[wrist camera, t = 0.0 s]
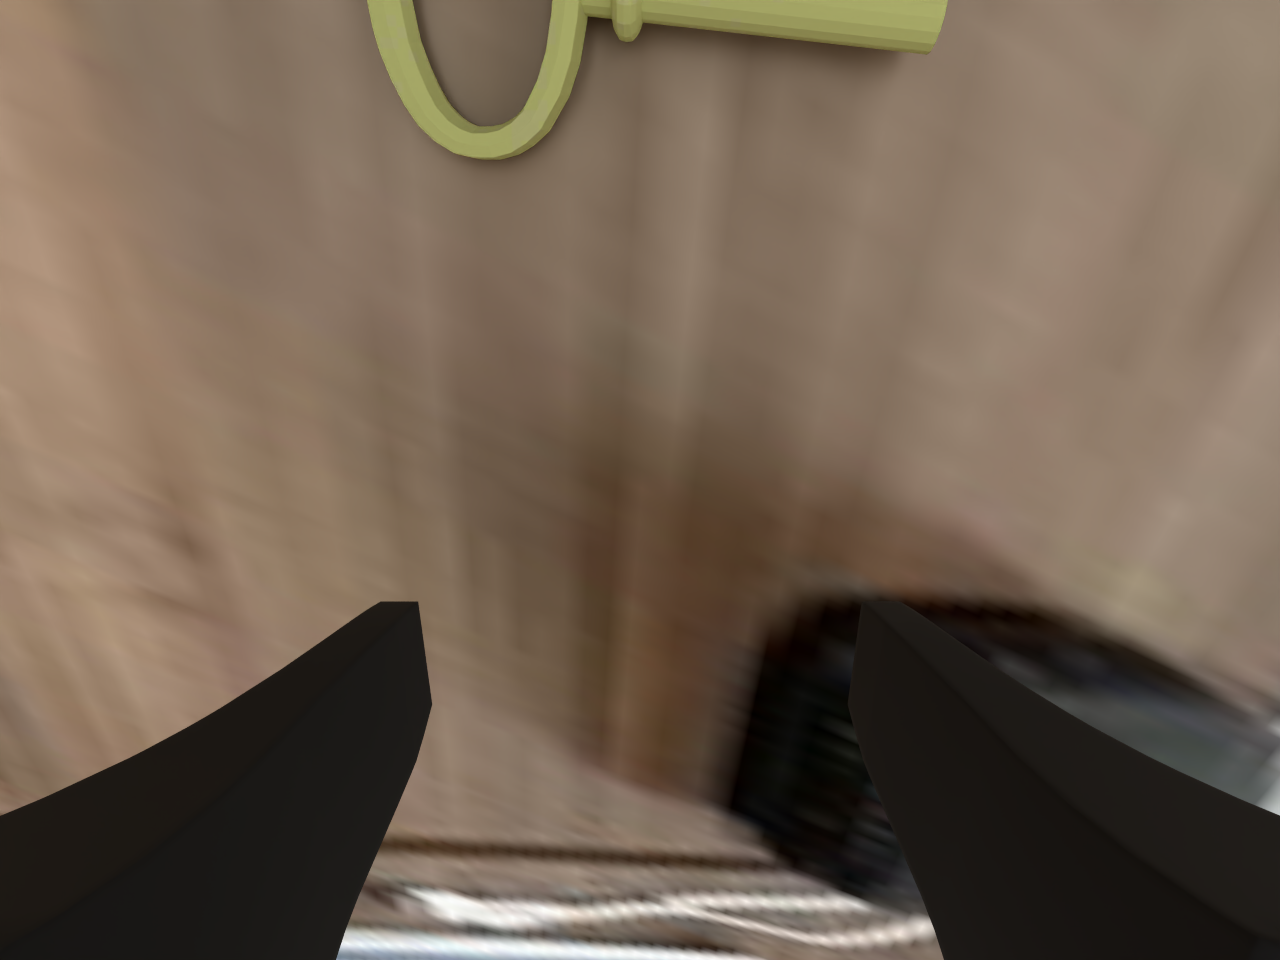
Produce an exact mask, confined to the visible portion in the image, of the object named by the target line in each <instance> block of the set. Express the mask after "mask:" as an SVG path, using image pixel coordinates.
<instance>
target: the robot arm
mask: <svg viewBox="0 0 1280 960" xmlns="http://www.w3.org/2000/svg"><path fill="white" fill-rule="evenodd" d="M431 707H432V700H431V693H430V685H429V678H428V671H427V663H426V656H425V649H424V641H423V634H422V627H421V620H420V612H419V605H418V602H379V603H378V604H376V605H374V606H372V607H371V608H369V609H368V610H366V611H365V612H363V613H362V614H360V615H359V616H357V617H356V618H354V619H353V620H351V621H350V622H349V623H347V624H346V625H344V626H343V627H341V628H340V629H339V630H337V631H336V632H334V633H333V634H331V635H330V636H329V637H327V638H326V639H324V640H323V641H321V642H320V643H319V644H317V645H316V646H314V647H313V648H311V649H310V650H309V651H307V652H306V653H304V654H303V655H301V656H300V657H298V658H297V659H296V660H294V661H293V662H291V663H290V664H288V665H287V666H285V667H284V668H282V669H281V670H279V671H278V672H276V673H275V674H273V675H272V676H270V677H269V678H267V679H265V680H264V681H262V682H261V683H259V684H258V685H256V686H254V687H253V688H251V689H250V690H248V691H247V692H245V693H243V694H242V695H240V696H239V697H237V698H236V699H234V700H232V701H231V702H229V703H228V704H226V705H225V706H223V707H221V708H220V709H218V710H216V711H215V712H213V713H211V714H210V715H208V716H206V717H205V718H203V719H201V720H199V721H198V722H196V723H194V724H192V725H191V726H189V727H187V728H185V729H183V730H182V731H180V732H178V733H176V734H174V735H172V736H170V737H168V738H167V739H165V740H163V741H161V742H159V743H157V744H155V745H154V746H152V747H150V748H148V749H146V750H144V751H142V752H140V753H138V754H136V755H134V756H132V757H130V758H128V759H126V760H124V761H122V762H120V763H118V764H115V765H113V766H111V767H109V768H107V769H105V770H103V771H100V772H98V773H96V774H94V775H92V776H90V777H88V778H85V779H83V780H81V781H79V782H77V783H75V784H73V785H70V786H68V787H66V788H64V789H62V790H60V791H58V792H55V793H53V794H51V795H49V796H47V797H44V798H42V799H40V800H37V801H35V802H33V803H30V804H28V805H26V806H23V807H21V808H18V809H16V810H14V811H11V812H9V813H6V814H4V815H1V816H0V960H336V958H337V955H338V952H339V948H340V945H341V942H342V939H343V936H344V933H345V930H346V927H347V925H348V922H349V919H350V917H351V914H352V912H353V909H354V906H355V904H356V901H357V899H358V896H359V894H360V891H361V889H362V887H363V884H364V882H365V880H366V878H367V875H368V873H369V871H370V868H371V866H372V864H373V861H374V859H375V857H376V854H377V852H378V850H379V847H380V845H381V843H382V841H383V838H384V836H385V834H386V831H387V829H388V827H389V824H390V822H391V820H392V817H393V815H394V813H395V811H396V808H397V806H398V804H399V801H400V799H401V796H402V794H403V792H404V789H405V787H406V785H407V782H408V780H409V778H410V775H411V773H412V770H413V768H414V765H415V763H416V760H417V757H418V753H419V750H420V747H421V743H422V740H423V736H424V733H425V729H426V725H427V722H428V718H429V714H430V710H431ZM848 707H849V710H850V714H851V718H852V722H853V725H854V729H855V733H856V736H857V740H858V743H859V747H860V750H861V753H862V757H863V760H864V763H865V765H866V768H867V770H868V773H869V775H870V778H871V780H872V782H873V785H874V787H875V789H876V792H877V794H878V796H879V799H880V801H881V804H882V806H883V808H884V811H885V813H886V815H887V817H888V820H889V822H890V824H891V827H892V829H893V831H894V834H895V836H896V838H897V841H898V843H899V845H900V847H901V850H902V852H903V854H904V857H905V859H906V861H907V864H908V866H909V868H910V871H911V873H912V875H913V878H914V880H915V882H916V884H917V887H918V889H919V891H920V894H921V896H922V899H923V901H924V904H925V906H926V909H927V912H928V914H929V917H930V919H931V922H932V925H933V927H934V930H935V933H936V936H937V939H938V942H939V945H940V948H941V952H942V955H943V958H944V960H1280V816H1279V815H1277V814H1275V813H1272V812H1270V811H1267V810H1265V809H1262V808H1260V807H1258V806H1255V805H1253V804H1250V803H1248V802H1246V801H1243V800H1241V799H1239V798H1236V797H1234V796H1232V795H1230V794H1228V793H1225V792H1223V791H1221V790H1219V789H1217V788H1214V787H1212V786H1210V785H1208V784H1205V783H1203V782H1201V781H1199V780H1197V779H1194V778H1192V777H1190V776H1188V775H1186V774H1183V773H1181V772H1179V771H1177V770H1175V769H1173V768H1171V767H1169V766H1167V765H1165V764H1163V763H1161V762H1158V761H1156V760H1154V759H1152V758H1150V757H1148V756H1146V755H1144V754H1142V753H1141V752H1139V751H1137V750H1135V749H1133V748H1131V747H1129V746H1127V745H1126V744H1124V743H1122V742H1120V741H1118V740H1116V739H1114V738H1112V737H1110V736H1109V735H1107V734H1105V733H1103V732H1101V731H1099V730H1097V729H1095V728H1094V727H1092V726H1090V725H1088V724H1087V723H1085V722H1083V721H1081V720H1080V719H1078V718H1076V717H1074V716H1073V715H1071V714H1069V713H1068V712H1066V711H1064V710H1063V709H1061V708H1059V707H1058V706H1056V705H1054V704H1053V703H1051V702H1050V701H1048V700H1046V699H1045V698H1043V697H1041V696H1040V695H1038V694H1037V693H1035V692H1033V691H1032V690H1030V689H1029V688H1027V687H1025V686H1024V685H1022V684H1021V683H1019V682H1018V681H1016V680H1015V679H1013V678H1012V677H1010V676H1009V675H1007V674H1006V673H1004V672H1003V671H1001V670H1000V669H998V668H997V667H995V666H994V665H992V664H991V663H989V662H988V661H986V660H985V659H983V658H982V657H980V656H979V655H978V654H976V653H975V652H973V651H972V650H970V649H969V648H967V647H966V646H965V645H963V644H962V643H960V642H959V641H957V640H956V639H955V638H953V637H952V636H950V635H949V634H948V633H946V632H945V631H943V630H942V629H940V628H939V627H938V626H936V625H935V624H933V623H932V622H930V621H929V620H928V619H926V618H925V617H923V616H922V615H920V614H919V613H917V612H916V611H914V610H913V609H911V608H910V607H908V606H906V605H905V604H903V603H901V602H862V605H861V612H860V620H859V627H858V634H857V641H856V649H855V656H854V663H853V671H852V678H851V685H850V693H849V700H848Z"/></svg>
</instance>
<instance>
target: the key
mask: <svg viewBox="0 0 1280 960" xmlns="http://www.w3.org/2000/svg"><path fill="white" fill-rule="evenodd" d="M947 1H948V0H552V12H551V19H550V26H549V33H548V40H547V47H546V53H545V56H544V60H543V63H542V66H541V70H540V73H539V76H538V80H537V82H536V84H535V86H534V88H533V90H532V92H531V95H530V97H529V99H528V101H527V103H526V105H525V107H524V108H523V109H522V110H521V111H520V112H519V113H518V115H517V116H516V117H515V118H513V119H511V120H509V121H508V122H506V123H504V124H500V125H495V126H476V125H474V124H472V123H470V122H469V121H467V120H466V119H464V118H463V117H462V116H461V115H460V114H459V113H458V112H457V111H456V110H455V109H454V108H453V107H452V106H451V105H450V103H449V101H448V100H447V98H446V96H445V95H444V93H443V91H442V90H441V88H440V86H439V83H438V81H437V79H436V77H435V75H434V73H433V71H432V69H431V66H430V64H429V61H428V58H427V56H426V53H425V50H424V48H423V45H422V42H421V38H420V34H419V30H418V25H417V21H416V16H415V11H414V6H413V1H412V0H367V3H368V8H369V13H370V18H371V23H372V28H373V31H374V34H375V38H376V41H377V45H378V48H379V51H380V54H381V56H382V59H383V61H384V64H385V66H386V69H387V71H388V74H389V76H390V78H391V80H392V82H393V84H394V86H395V88H396V90H397V92H398V94H399V96H400V98H401V100H402V102H403V104H404V105H405V107H406V108H407V110H408V111H409V113H410V114H411V116H412V117H413V119H414V120H415V122H416V123H417V125H418V126H419V127H420V128H421V129H423V130H424V131H425V132H426V133H427V134H428V135H429V136H430V137H431V138H432V139H433V140H434V141H435V142H437V143H438V144H440V145H441V146H443V147H445V148H446V149H448V150H450V151H451V152H453V153H455V154H458V155H462V156H467V157H472V158H476V159H487V160H502V159H505V158H509V157H512V156H516V155H519V154H521V153H523V152H524V151H526V150H528V149H529V148H531V147H532V146H534V145H535V144H536V143H537V142H539V141H540V140H541V139H542V138H543V137H544V136H545V135H546V134H547V133H548V132H549V131H550V130H551V128H552V126H553V125H554V123H555V121H556V119H557V118H558V116H559V114H560V112H561V111H562V109H563V107H564V105H565V103H566V102H567V100H568V98H569V96H570V93H571V90H572V87H573V84H574V81H575V78H576V75H577V72H578V69H579V65H580V62H581V56H582V50H583V44H584V38H585V32H586V26H587V19H588V16H590V17H599V18H608V19H612V22H613V27H614V30H615V33H616V34H617V36H618V38H619V39H620V40H622V41H625V42H631V41H633V40H634V39H635V38H636V37H637V35H638V34H639V32H640V30H641V27H642V24H643V23H652V24H661V25H670V26H679V27H688V28H697V29H706V30H714V31H723V32H732V33H741V34H750V35H759V36H768V37H777V38H785V39H794V40H803V41H812V42H821V43H830V44H839V45H848V46H856V47H865V48H874V49H883V50H892V51H901V52H910V53H918V54H928V53H929V52H930V51H931V50H932V48H933V46H934V45H935V42H936V40H937V38H938V35H939V33H940V30H941V26H942V23H943V20H944V16H945V12H946V7H947Z"/></svg>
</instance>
